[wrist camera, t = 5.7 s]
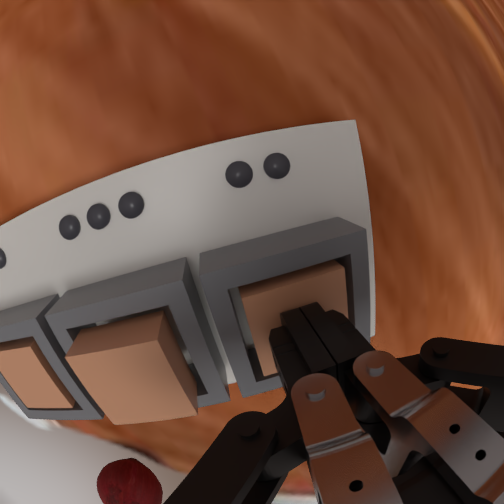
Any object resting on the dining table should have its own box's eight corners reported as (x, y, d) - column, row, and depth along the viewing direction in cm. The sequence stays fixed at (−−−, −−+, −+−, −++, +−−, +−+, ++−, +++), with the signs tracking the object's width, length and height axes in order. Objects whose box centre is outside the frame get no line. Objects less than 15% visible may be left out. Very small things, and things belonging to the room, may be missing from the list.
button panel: (336, 124, 13) (386, 113, 9) (359, 319, 17) (396, 358, 13) (-30, 246, 11) (-70, 269, 7) (44, 389, 15) (25, 429, 11)
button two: (323, 251, 12) (344, 267, 10) (332, 325, 13) (349, 347, 12) (235, 277, 12) (241, 298, 10) (255, 349, 13) (263, 376, 11)
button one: (46, 324, 11) (30, 346, 9) (82, 383, 12) (73, 407, 10) (4, 334, 10) (-12, 353, 9) (38, 386, 12) (27, 407, 10)
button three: (163, 310, 10) (157, 340, 8) (196, 382, 12) (197, 414, 10) (81, 329, 10) (64, 357, 8) (121, 394, 11) (114, 424, 9)
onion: (92, 441, 17) (77, 512, 10) (149, 443, 18) (145, 523, 10) (119, 470, 19) (113, 532, 12) (171, 472, 20) (173, 539, 12)
